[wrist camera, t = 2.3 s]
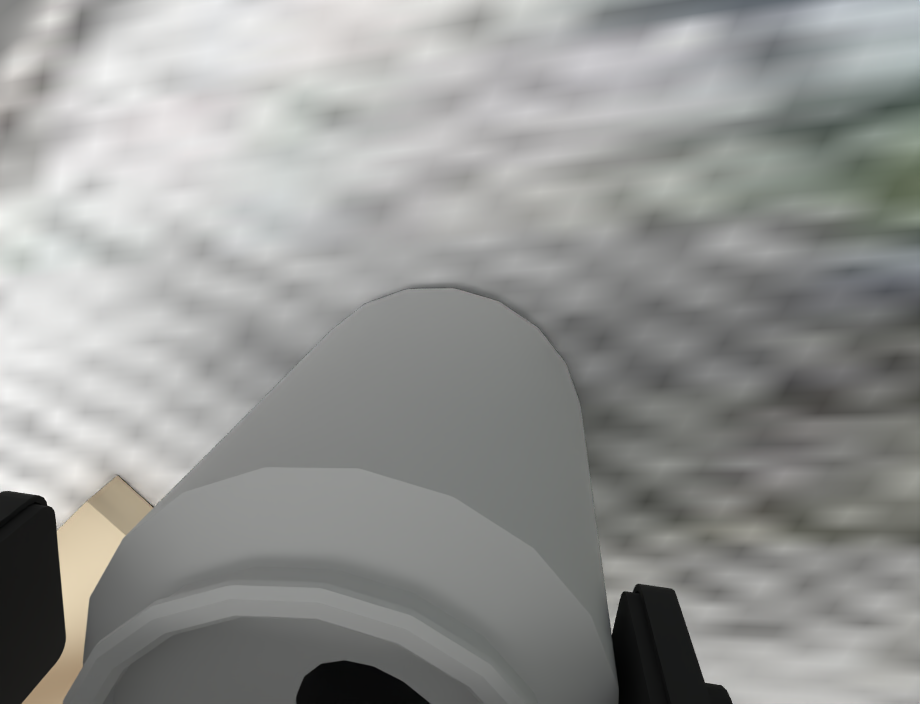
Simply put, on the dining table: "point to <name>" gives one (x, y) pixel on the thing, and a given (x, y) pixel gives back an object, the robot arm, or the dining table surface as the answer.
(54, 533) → the robot arm
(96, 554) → the oak board
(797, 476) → the dining table surface
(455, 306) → the can
